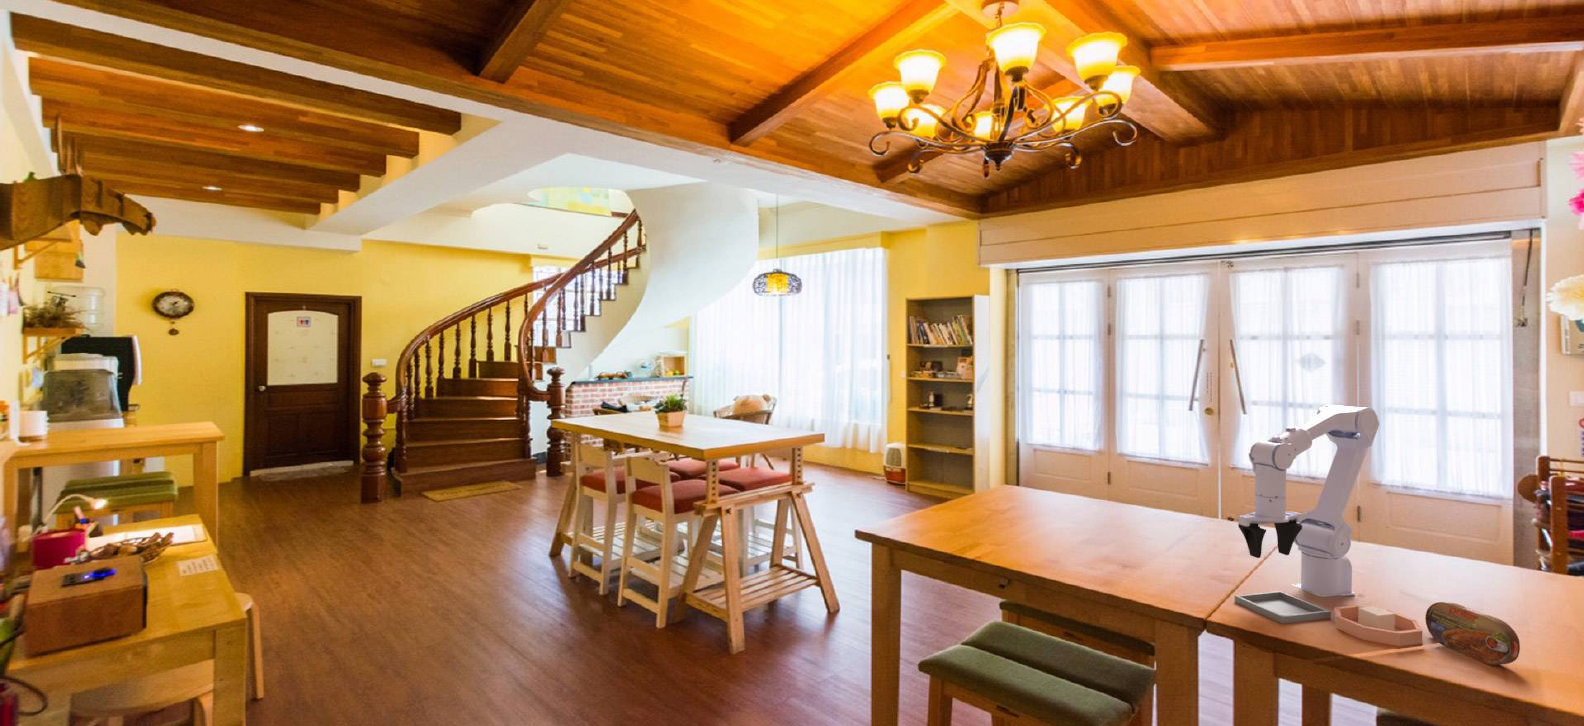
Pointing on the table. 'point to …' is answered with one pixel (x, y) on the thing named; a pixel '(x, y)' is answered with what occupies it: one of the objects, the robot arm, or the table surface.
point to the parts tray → (1282, 607)
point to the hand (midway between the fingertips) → (1269, 555)
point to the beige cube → (1376, 618)
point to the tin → (1473, 633)
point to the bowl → (1403, 634)
